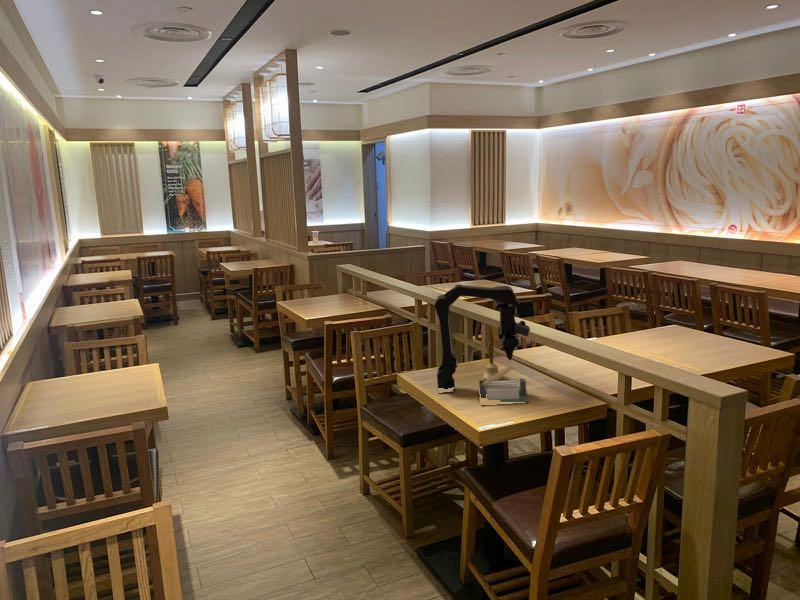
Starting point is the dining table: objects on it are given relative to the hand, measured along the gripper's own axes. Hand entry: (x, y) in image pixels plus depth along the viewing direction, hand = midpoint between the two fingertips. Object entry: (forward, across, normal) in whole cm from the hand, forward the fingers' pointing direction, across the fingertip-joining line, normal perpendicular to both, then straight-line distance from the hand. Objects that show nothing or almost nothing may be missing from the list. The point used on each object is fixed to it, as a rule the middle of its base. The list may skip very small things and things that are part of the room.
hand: (508, 355), depth 237 cm
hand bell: (+14, +12, +6) cm, 20 cm away
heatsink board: (+14, -8, +4) cm, 17 cm away
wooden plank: (+5, -8, +5) cm, 11 cm away
